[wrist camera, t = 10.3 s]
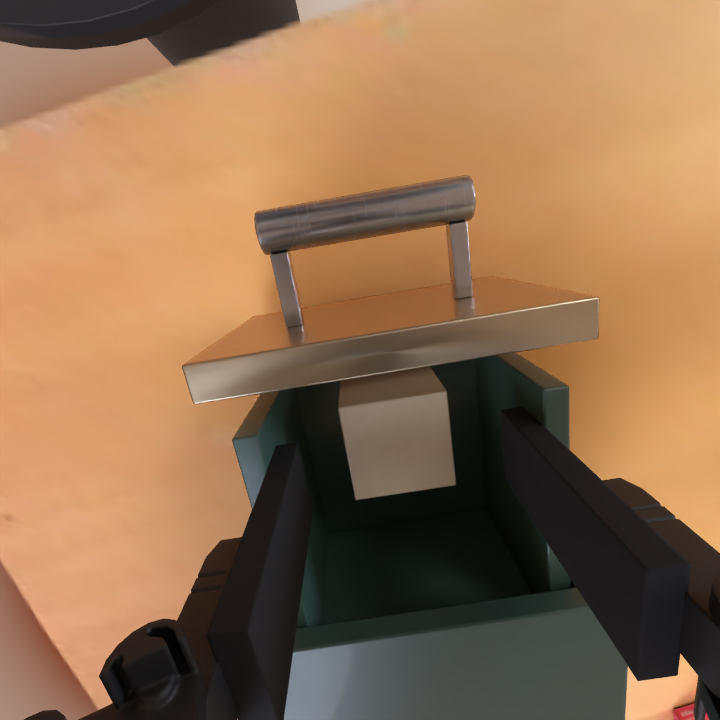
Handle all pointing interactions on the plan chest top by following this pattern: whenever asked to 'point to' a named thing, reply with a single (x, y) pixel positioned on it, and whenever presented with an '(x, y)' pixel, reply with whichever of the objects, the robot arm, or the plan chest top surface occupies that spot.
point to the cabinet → (462, 664)
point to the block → (396, 433)
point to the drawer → (386, 355)
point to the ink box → (685, 713)
